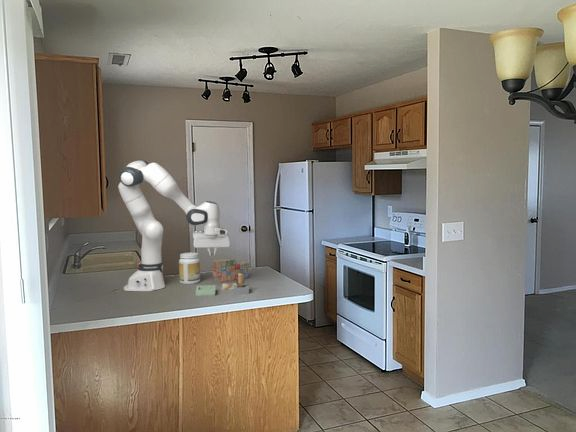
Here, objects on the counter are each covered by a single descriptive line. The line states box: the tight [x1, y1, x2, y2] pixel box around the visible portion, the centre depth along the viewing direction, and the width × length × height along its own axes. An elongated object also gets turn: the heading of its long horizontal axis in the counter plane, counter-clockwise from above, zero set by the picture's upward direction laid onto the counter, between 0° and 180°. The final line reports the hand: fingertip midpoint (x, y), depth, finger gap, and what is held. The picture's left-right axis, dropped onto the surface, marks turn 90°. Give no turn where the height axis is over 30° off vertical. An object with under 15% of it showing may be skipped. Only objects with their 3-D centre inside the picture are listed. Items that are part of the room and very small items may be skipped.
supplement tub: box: [178, 252, 201, 285], centre depth 288 cm, size 12×12×17 cm
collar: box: [233, 284, 250, 295], centre depth 267 cm, size 8×8×3 cm
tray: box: [195, 284, 217, 297], centre depth 264 cm, size 10×10×3 cm
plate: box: [221, 282, 237, 291], centre depth 274 cm, size 8×6×2 cm
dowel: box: [238, 273, 245, 288], centre depth 266 cm, size 3×3×10 cm
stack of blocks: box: [212, 258, 250, 283], centre depth 297 cm, size 21×6×12 cm, turn 121°
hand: (212, 255), depth 271 cm, fingers closed
